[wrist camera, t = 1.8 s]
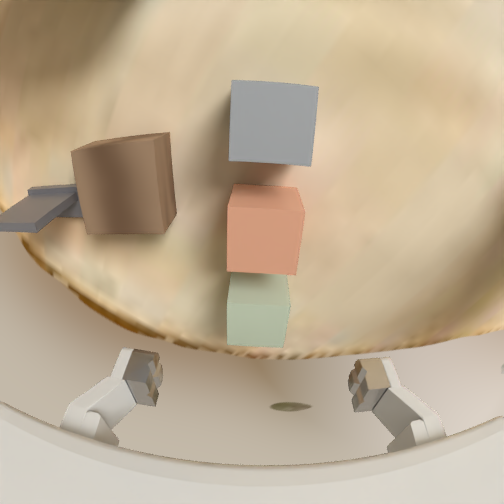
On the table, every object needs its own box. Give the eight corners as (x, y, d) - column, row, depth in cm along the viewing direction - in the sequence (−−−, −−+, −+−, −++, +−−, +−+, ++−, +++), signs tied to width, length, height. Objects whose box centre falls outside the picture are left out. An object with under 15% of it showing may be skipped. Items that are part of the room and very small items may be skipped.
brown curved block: (170, 131, 21) (153, 139, 18) (177, 212, 25) (164, 233, 21) (95, 140, 21) (70, 151, 18) (107, 214, 25) (87, 234, 21)
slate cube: (305, 88, 19) (318, 86, 15) (300, 151, 21) (311, 166, 17) (238, 83, 19) (231, 80, 15) (235, 146, 21) (228, 160, 17)
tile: (82, 183, 23) (35, 216, 17) (87, 213, 24) (45, 252, 18) (32, 187, 23) (-14, 217, 17) (37, 213, 24) (-5, 247, 18)
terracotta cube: (296, 187, 23) (305, 211, 19) (290, 242, 26) (295, 275, 21) (234, 183, 23) (227, 206, 19) (232, 238, 26) (226, 271, 21)
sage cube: (286, 270, 27) (290, 306, 23) (280, 311, 30) (283, 347, 25) (232, 267, 27) (226, 302, 23) (231, 308, 30) (227, 344, 25)
